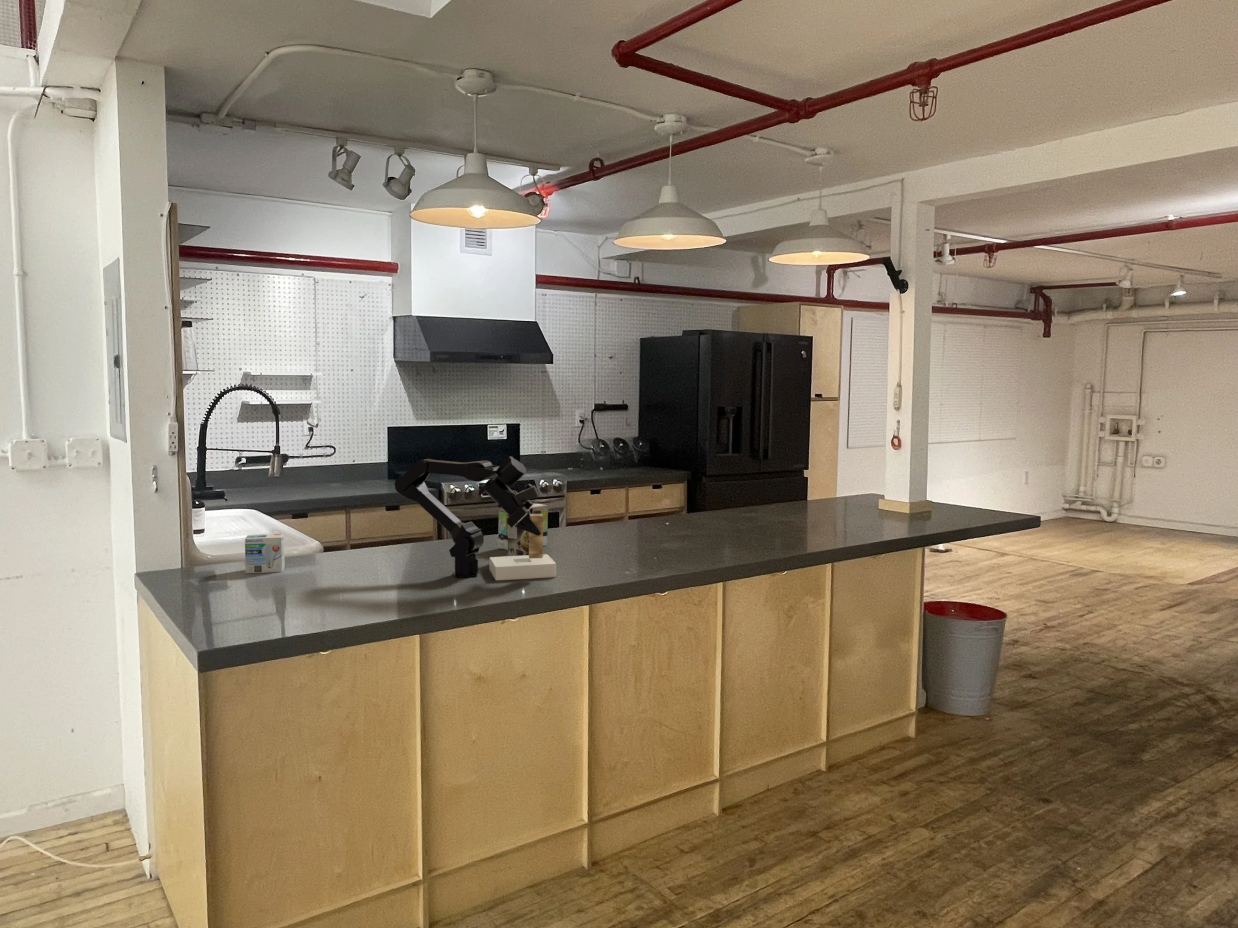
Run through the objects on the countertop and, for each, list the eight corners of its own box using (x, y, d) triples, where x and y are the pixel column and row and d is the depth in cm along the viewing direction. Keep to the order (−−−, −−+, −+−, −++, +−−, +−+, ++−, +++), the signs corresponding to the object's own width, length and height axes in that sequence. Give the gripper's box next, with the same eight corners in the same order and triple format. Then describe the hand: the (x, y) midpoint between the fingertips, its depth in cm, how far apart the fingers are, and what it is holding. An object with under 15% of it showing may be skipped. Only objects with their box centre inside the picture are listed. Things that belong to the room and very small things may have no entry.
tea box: (518, 552, 299) (518, 509, 298) (497, 548, 305) (497, 506, 304) (548, 545, 311) (548, 503, 310) (527, 542, 317) (527, 501, 316)
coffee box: (518, 562, 283) (517, 512, 281) (507, 559, 288) (506, 510, 286) (541, 559, 289) (541, 510, 287) (530, 555, 294) (530, 507, 292)
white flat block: (495, 580, 259) (495, 566, 259) (489, 569, 272) (489, 557, 272) (556, 576, 264) (556, 563, 263) (547, 566, 277) (547, 554, 277)
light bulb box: (245, 574, 265) (243, 538, 264) (248, 569, 272) (246, 534, 271) (283, 572, 268) (282, 536, 267) (285, 567, 275) (284, 532, 273)
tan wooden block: (529, 558, 259) (529, 516, 258) (528, 555, 263) (529, 513, 262) (542, 558, 259) (542, 516, 258) (542, 555, 263) (542, 513, 262)
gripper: (518, 480, 250) (557, 519, 251) (526, 472, 268) (562, 509, 269) (490, 507, 251) (529, 546, 251) (500, 498, 269) (536, 534, 270)
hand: (540, 533), depth 261 cm, fingers closed on tan wooden block, 4 cm apart
